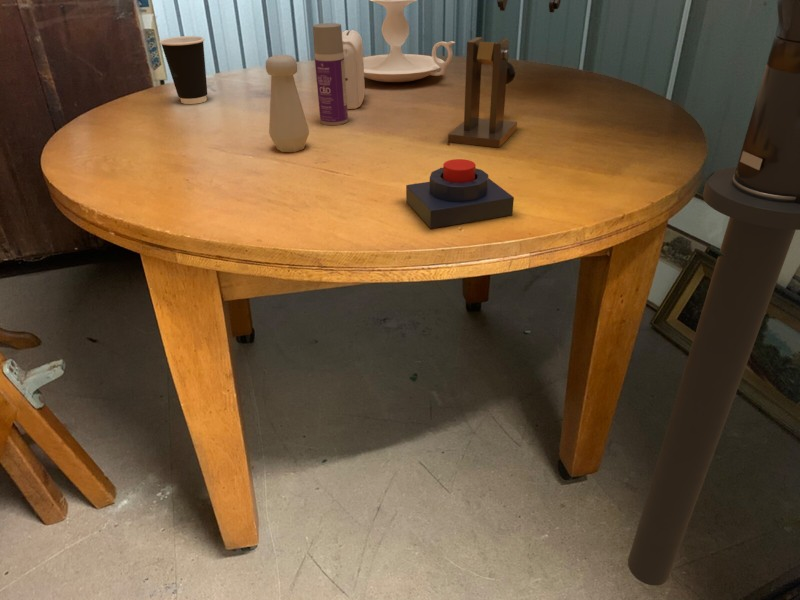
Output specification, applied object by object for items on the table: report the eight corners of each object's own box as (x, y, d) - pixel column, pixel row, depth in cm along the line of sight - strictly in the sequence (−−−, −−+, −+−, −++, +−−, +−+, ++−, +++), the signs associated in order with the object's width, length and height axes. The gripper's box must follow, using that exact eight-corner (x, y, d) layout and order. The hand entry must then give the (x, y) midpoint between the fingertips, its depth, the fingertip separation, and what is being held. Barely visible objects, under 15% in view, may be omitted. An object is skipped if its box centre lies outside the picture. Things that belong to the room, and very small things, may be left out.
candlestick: (422, 98, 114) (422, -76, 99) (328, 82, 127) (315, -74, 112) (479, 78, 128) (487, -78, 113) (389, 65, 141) (385, -76, 126)
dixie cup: (223, 97, 117) (213, 37, 112) (197, 107, 111) (184, 44, 106) (191, 94, 120) (179, 35, 114) (163, 104, 114) (149, 42, 108)
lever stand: (468, 124, 99) (472, 33, 91) (516, 129, 96) (524, 36, 89) (448, 142, 91) (450, 44, 84) (499, 147, 88) (506, 47, 81)
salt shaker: (268, 144, 92) (256, 54, 85) (305, 140, 93) (295, 50, 86) (276, 156, 87) (263, 61, 80) (314, 151, 89) (305, 57, 82)
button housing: (482, 190, 75) (483, 159, 72) (512, 215, 68) (515, 181, 66) (406, 202, 72) (405, 170, 70) (430, 229, 65) (430, 194, 63)
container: (319, 125, 100) (310, 27, 92) (321, 118, 104) (313, 23, 96) (347, 124, 100) (341, 26, 92) (348, 117, 104) (342, 22, 96)
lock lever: (493, 86, 100) (497, 63, 99) (515, 88, 99) (519, 65, 98) (471, 63, 87) (475, 37, 86) (495, 64, 85) (499, 38, 85)
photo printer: (361, 109, 108) (357, 35, 101) (337, 109, 108) (332, 35, 102) (366, 95, 117) (363, 26, 110) (344, 95, 117) (340, 26, 110)
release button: (466, 171, 70) (467, 157, 69) (480, 182, 67) (481, 167, 66) (438, 175, 69) (438, 161, 68) (450, 186, 66) (451, 171, 65)
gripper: (505, -90, 103) (481, -9, 101) (590, -92, 98) (567, -7, 95) (511, -55, 110) (489, 21, 107) (590, -56, 105) (569, 24, 102)
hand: (526, 8), depth 101 cm, fingers open, 8 cm apart
